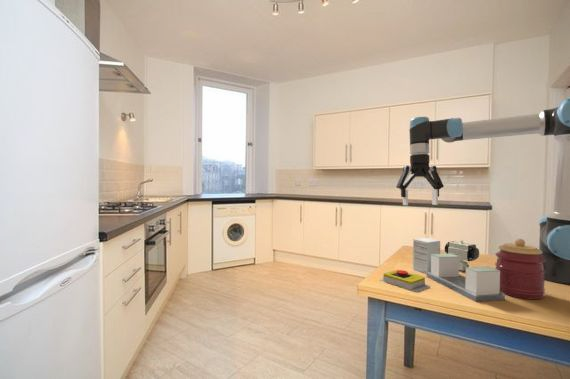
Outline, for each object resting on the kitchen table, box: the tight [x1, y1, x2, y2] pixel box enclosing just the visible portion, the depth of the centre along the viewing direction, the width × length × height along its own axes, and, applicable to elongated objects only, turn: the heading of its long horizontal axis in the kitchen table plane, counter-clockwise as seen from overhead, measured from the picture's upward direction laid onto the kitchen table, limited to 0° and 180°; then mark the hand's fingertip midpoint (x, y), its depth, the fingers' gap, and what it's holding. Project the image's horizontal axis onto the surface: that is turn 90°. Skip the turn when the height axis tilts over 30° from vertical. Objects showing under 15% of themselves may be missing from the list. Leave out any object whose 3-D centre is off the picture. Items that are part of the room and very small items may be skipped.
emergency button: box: [379, 269, 432, 293], centre depth 107 cm, size 9×4×15 cm
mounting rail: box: [426, 272, 506, 303], centre depth 103 cm, size 24×10×2 cm, turn 9°
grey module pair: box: [431, 253, 500, 295], centre depth 103 cm, size 22×8×7 cm, turn 9°
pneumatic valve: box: [444, 239, 480, 272], centre depth 124 cm, size 6×12×12 cm, turn 32°
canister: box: [494, 238, 546, 300], centre depth 99 cm, size 13×13×18 cm
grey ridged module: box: [412, 237, 441, 275], centre depth 122 cm, size 7×7×13 cm
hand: (420, 205), depth 127 cm, fingers open, 13 cm apart
